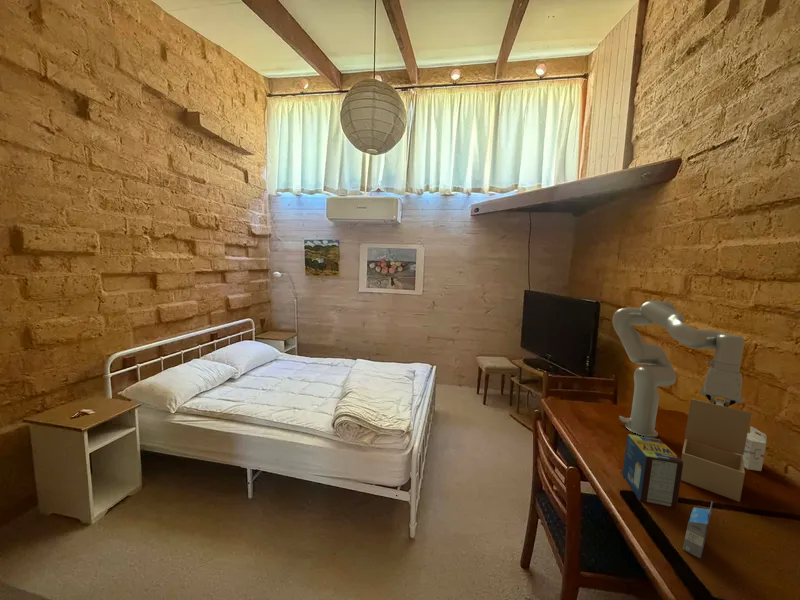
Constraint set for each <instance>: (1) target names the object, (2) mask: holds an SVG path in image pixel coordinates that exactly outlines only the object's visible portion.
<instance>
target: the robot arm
mask: <svg viewBox="0 0 800 600" xmlns="http://www.w3.org/2000/svg"><path fill="white" fill-rule="evenodd" d="M611 322H612V327H613V329H614V331H615V332H616V334H617V336H618V337H619V339H620V342H621V344H622V346H623V348H624V350H625V352H626V354H627V356H628V358H629V360H630V362H632V363H634V364H637V365H640V366H638V367H637V368H636V369H635V370H634V373H633V381H634V386H633V387H634V389H633V396H632V397H633V398H632V404H631V413H630V417H624V416H621V415H619V417H618V420H619V421H620V422H621V423H625V425H624V426H625V427H626V428H627V429H628V430H629V431H628V430H627V429H626V428H625V429H626V430H627V431H628V432H630V431H631V432H630V433H632V432H633V433H632V434H634V433H636V434H635V435H637V434H638V435H637V436H639V435H641V436H642V437H643V436H644V437H649V438H655V439H656V438H657V437H658V436H659V433H658V431H657V430H655V428H656V421H657V415H658V407H659V401H660V400H659V399H660V394H659V391H658V387H669V386H673V385H674V384H675V382H676V381H677V376H676V375H677V374H676V371H675V369H674V367H673V365H672V363H671V362H670V359H669V358H668V356H667V355H666V354H667V353H666V352H665V351H664V350H663V348H661V347H660V346H659V345H657V344H653V343H646V342H645V341H644V340H643V338H642V336H641V334H640V332H639V331H638V330H636V328H634V327H633V326H648V325H654V324H657V325H659V326H660V327H661V328H664V329H665V330H667V333H668V335H670V337H671V338H672V339H674V340H675V341H677V342H679V343H681V344H682V345H684V346H686V347H688V348H691V349H695V350H714V353H713V358H712V359H713V360H708V361H707V364H706V365H709V366H711V367H709V368H708V370H707V373H706V376H705V379H704V384H703V386H702V387H701V389H700V390H699V391H698V393H699V394H700V395H702V396H704V397H705V398H706V399H707V400H708V401H709V403H713V404H716V397H717V398H720V399H721V398H722V399H724V406H725V407H730V406H733V405H735V404H744V400H743V397H742V387H743V373H741V372H740V370H741V363H742V359H743V352H744V346H745V338H744V337H743V336H741V335H736V334H730V333H724V332H721V331H718V330H713V329H710V330H709V329H695V328H693V327H691V326H689V325H687V324H685V323H684V322H685V316H684V315H683V314H682V313H680V312H678V311H677V310H676V307H675V306H674V304H672V303H671V302H669V301H664V300H662V301H661V300H648V301H645V302H643V303H642V304H641V305H640V307H622V308H619V309H617V310H616V311H615V312H614V313H613V316H612V321H611Z"/></svg>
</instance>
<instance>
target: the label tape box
mask: <svg viewBox="0 0 800 600" xmlns="http://www.w3.org/2000/svg"><path fill="white" fill-rule="evenodd" d="M712 508H713V502H711V503H710V507H709V508H703V507H701V508H700V507H693V508H692V510H691V513H690V515H689V519H688V522H687V527H686V531H685V535H684V541H683V544H682V545H683V546H682V550H683V551H686V552H687V553H688V554H690V555H692V556H693V557H697V558H699V559H701V558H702V554H703V550H704V547H705V542H706V537H707V535H708V530H709V529H708V528H709V524H710V519H711V515H712V511H713V509H712Z"/></svg>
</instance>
